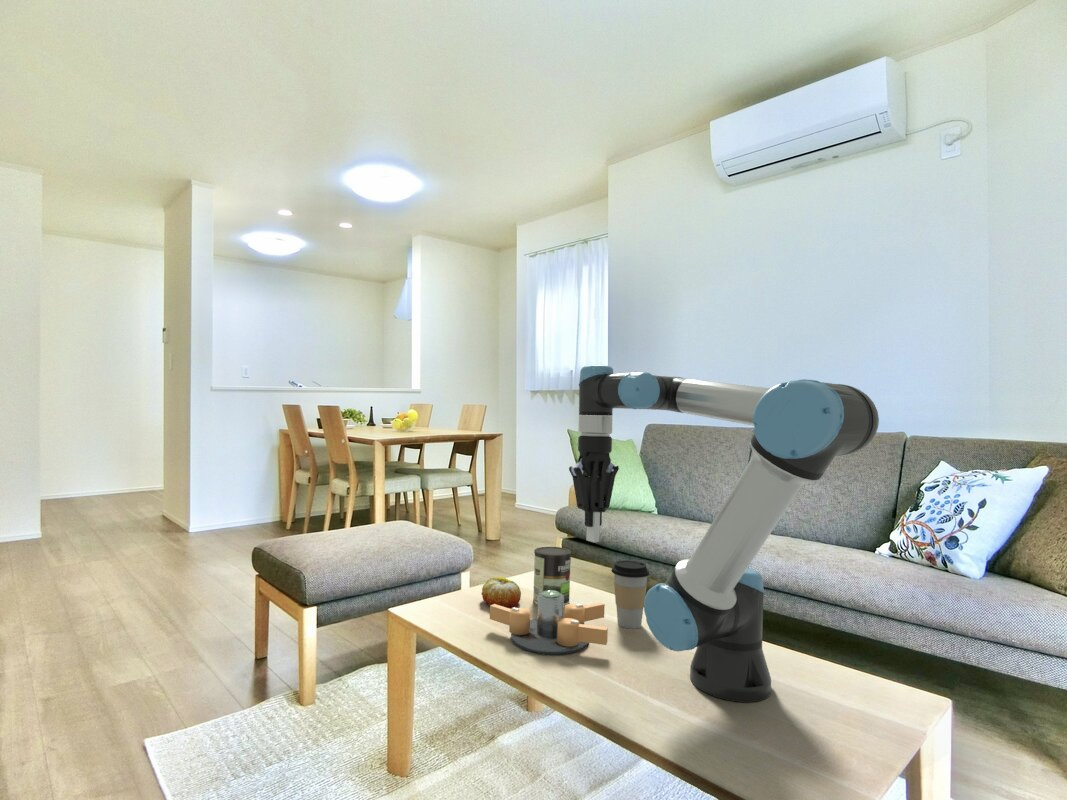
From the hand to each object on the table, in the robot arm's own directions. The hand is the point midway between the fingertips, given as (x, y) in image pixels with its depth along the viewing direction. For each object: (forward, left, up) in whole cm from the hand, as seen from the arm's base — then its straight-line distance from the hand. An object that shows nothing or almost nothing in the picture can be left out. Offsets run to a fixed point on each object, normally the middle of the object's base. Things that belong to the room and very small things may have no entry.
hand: (592, 540), depth 125 cm
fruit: (+32, -16, -25) cm, 44 cm away
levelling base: (+10, -1, -24) cm, 26 cm away
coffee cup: (-3, -20, -24) cm, 32 cm away
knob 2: (+5, -10, -22) cm, 25 cm away
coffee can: (+21, -25, -25) cm, 41 cm away
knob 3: (+1, +2, -22) cm, 23 cm away
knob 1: (+20, +2, -22) cm, 30 cm away
